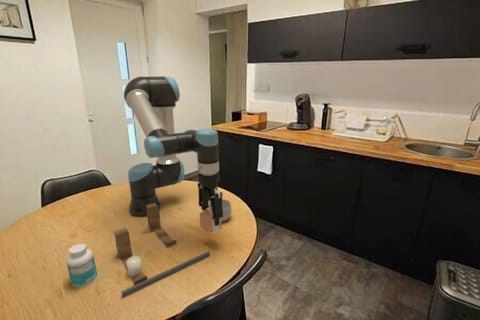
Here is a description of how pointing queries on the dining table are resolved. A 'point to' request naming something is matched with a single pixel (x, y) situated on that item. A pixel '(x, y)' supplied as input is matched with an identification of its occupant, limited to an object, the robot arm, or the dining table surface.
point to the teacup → (225, 209)
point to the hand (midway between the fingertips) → (211, 227)
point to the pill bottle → (81, 265)
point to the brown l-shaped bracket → (126, 251)
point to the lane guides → (164, 274)
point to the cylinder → (134, 266)
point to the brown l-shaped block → (158, 225)
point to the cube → (208, 221)
